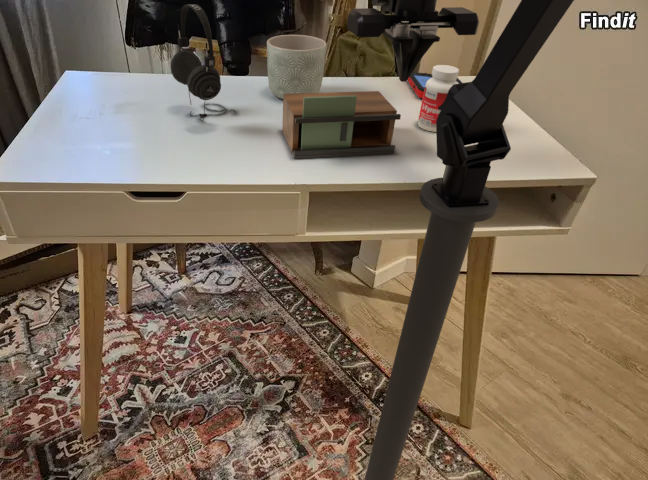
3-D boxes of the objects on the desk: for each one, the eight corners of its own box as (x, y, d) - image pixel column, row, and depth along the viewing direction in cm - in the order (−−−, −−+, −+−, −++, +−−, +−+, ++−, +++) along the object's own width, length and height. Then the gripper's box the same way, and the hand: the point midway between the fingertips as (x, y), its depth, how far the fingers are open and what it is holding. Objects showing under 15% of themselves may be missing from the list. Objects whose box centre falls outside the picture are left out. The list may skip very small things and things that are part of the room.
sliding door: (351, 148, 87) (357, 97, 81) (301, 151, 86) (304, 98, 80) (349, 146, 88) (355, 95, 82) (300, 149, 86) (303, 96, 81)
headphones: (253, 126, 96) (252, 10, 83) (198, 136, 91) (188, 16, 79) (221, 100, 106) (216, -6, 93) (170, 108, 101) (157, -2, 89)
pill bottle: (412, 128, 97) (424, 69, 90) (423, 118, 102) (434, 61, 95) (443, 135, 95) (458, 75, 88) (453, 125, 99) (467, 67, 92)
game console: (475, 102, 109) (478, 92, 108) (417, 101, 109) (419, 91, 108) (457, 81, 121) (459, 71, 119) (404, 80, 120) (406, 70, 119)
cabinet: (394, 154, 88) (401, 115, 84) (294, 159, 85) (296, 119, 81) (373, 127, 97) (378, 90, 93) (282, 130, 94) (283, 93, 90)
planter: (280, 108, 103) (281, 52, 97) (257, 89, 112) (257, 36, 105) (332, 101, 108) (337, 47, 101) (307, 83, 116) (310, 32, 110)
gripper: (457, -40, 78) (435, 64, 87) (342, -41, 75) (333, 68, 84) (493, -30, 69) (465, 85, 79) (365, -30, 66) (352, 89, 76)
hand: (402, 81), depth 80 cm, fingers closed
